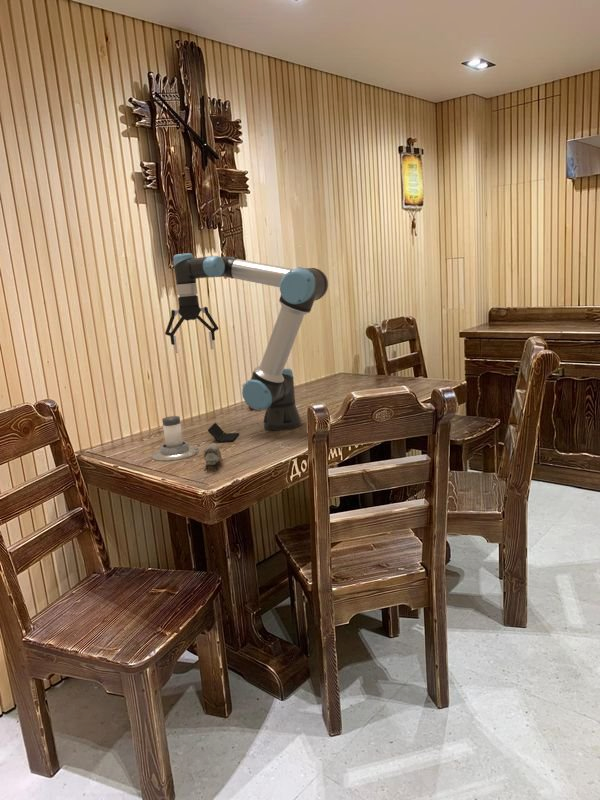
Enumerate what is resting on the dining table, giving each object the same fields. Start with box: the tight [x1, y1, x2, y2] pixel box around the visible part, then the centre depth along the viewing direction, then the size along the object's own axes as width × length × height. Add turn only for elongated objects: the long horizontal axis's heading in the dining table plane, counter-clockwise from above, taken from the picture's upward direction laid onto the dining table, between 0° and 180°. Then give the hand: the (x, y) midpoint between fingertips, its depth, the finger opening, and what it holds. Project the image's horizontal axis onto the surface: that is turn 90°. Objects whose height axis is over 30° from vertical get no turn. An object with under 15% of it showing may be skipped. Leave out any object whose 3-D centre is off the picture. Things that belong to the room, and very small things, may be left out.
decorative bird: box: [203, 442, 222, 472], centre depth 193 cm, size 5×16×8 cm, turn 3°
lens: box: [161, 415, 184, 448], centre depth 209 cm, size 6×6×12 cm
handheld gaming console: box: [207, 422, 240, 444], centre depth 226 cm, size 12×7×10 cm
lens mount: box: [151, 440, 199, 462], centre depth 210 cm, size 16×16×4 cm
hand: (194, 351), depth 232 cm, fingers open, 13 cm apart
